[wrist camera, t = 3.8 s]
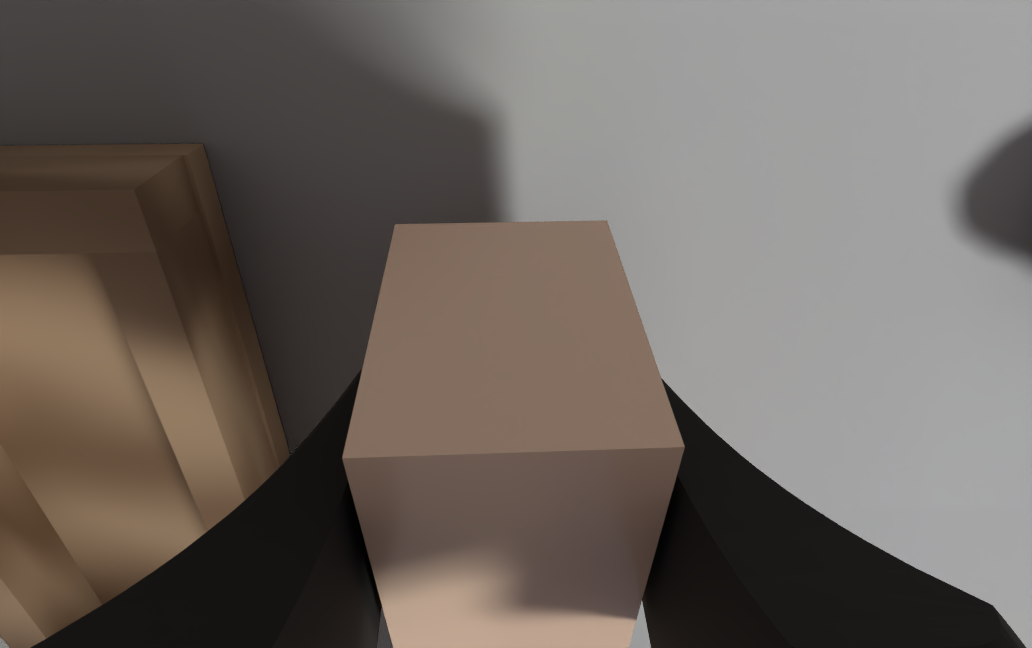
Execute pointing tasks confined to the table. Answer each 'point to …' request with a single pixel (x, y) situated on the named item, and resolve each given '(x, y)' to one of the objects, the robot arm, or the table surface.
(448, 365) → the tan rectangular block
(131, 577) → the wooden tray
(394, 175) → the table surface
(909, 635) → the robot arm
